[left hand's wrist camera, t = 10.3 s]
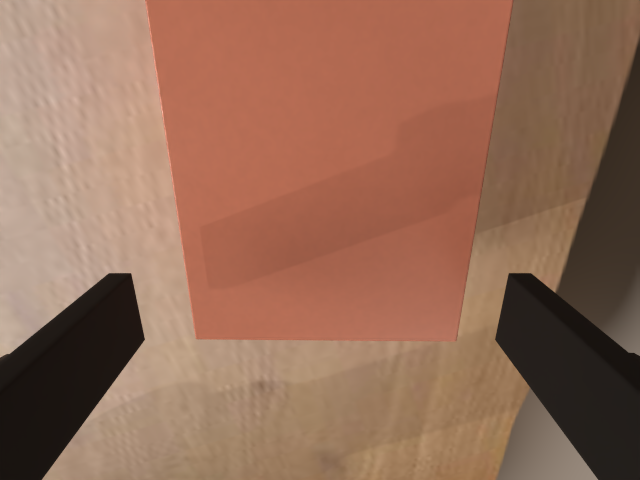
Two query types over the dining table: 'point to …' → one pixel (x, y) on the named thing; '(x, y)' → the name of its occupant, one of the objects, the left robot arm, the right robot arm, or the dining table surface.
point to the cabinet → (328, 160)
